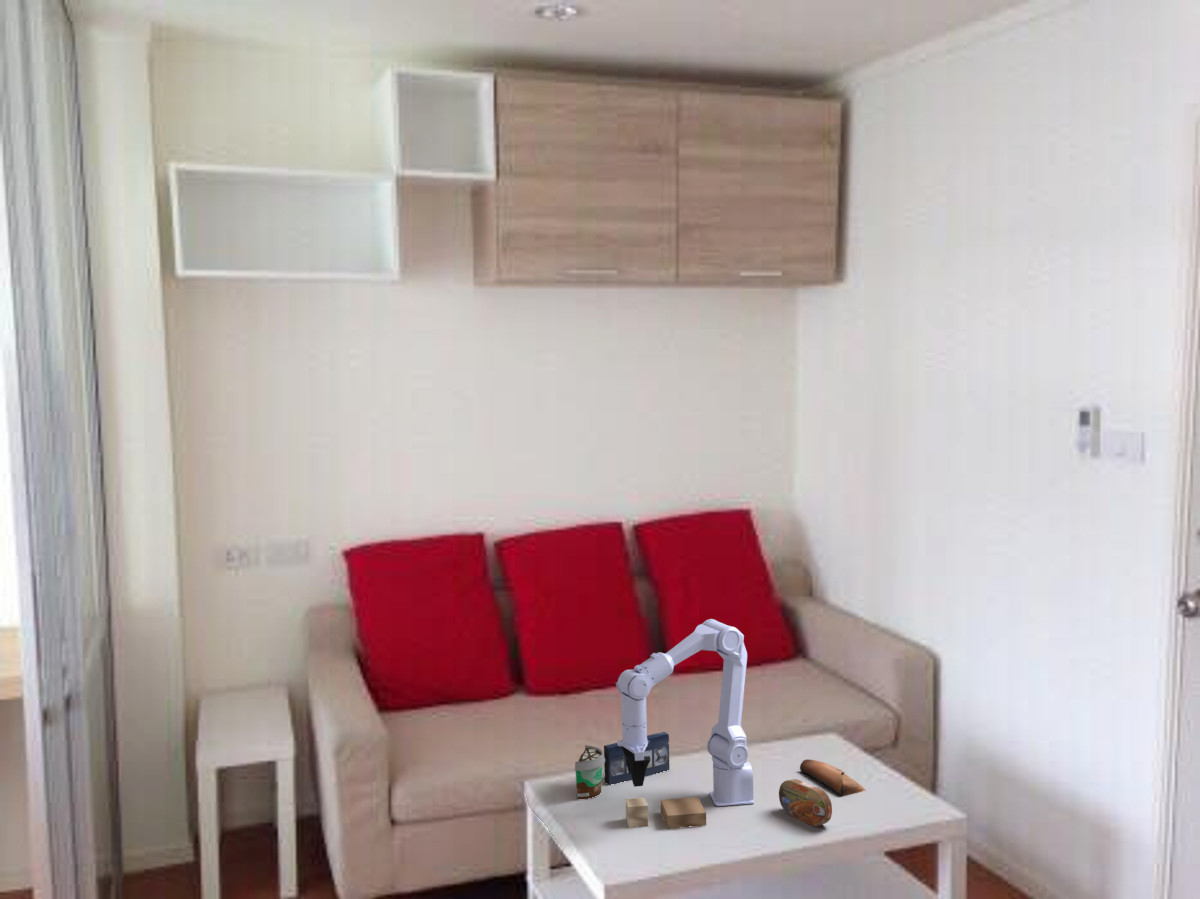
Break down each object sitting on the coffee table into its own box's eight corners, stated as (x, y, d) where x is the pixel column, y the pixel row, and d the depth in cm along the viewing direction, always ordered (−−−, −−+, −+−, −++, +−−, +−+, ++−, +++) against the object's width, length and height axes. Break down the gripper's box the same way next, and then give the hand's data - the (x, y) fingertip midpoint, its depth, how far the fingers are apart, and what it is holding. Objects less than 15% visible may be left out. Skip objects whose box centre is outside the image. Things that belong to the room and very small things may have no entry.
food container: (600, 803, 270) (599, 763, 269) (575, 802, 271) (574, 762, 270) (610, 783, 282) (609, 745, 281) (586, 782, 283) (585, 744, 282)
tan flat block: (698, 811, 265) (697, 797, 264) (706, 827, 256) (706, 812, 256) (660, 814, 264) (660, 799, 263) (667, 830, 255) (667, 815, 254)
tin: (777, 810, 263) (777, 776, 263) (787, 806, 265) (787, 772, 264) (824, 832, 251) (824, 796, 250) (834, 828, 253) (834, 792, 252)
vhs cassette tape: (608, 786, 280) (607, 748, 279) (603, 782, 283) (602, 744, 282) (670, 771, 289) (670, 734, 288) (665, 768, 291) (664, 731, 290)
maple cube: (644, 818, 261) (644, 797, 260) (648, 826, 257) (647, 805, 256) (626, 819, 260) (625, 799, 260) (628, 827, 256) (628, 807, 255)
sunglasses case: (869, 790, 273) (857, 770, 271) (849, 809, 271) (837, 789, 269) (826, 765, 290) (815, 746, 288) (807, 783, 288) (795, 764, 286)
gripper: (613, 713, 263) (614, 768, 264) (621, 734, 249) (622, 792, 250) (642, 711, 264) (643, 766, 265) (652, 732, 249) (653, 790, 251)
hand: (635, 779), depth 258 cm, fingers open, 7 cm apart
